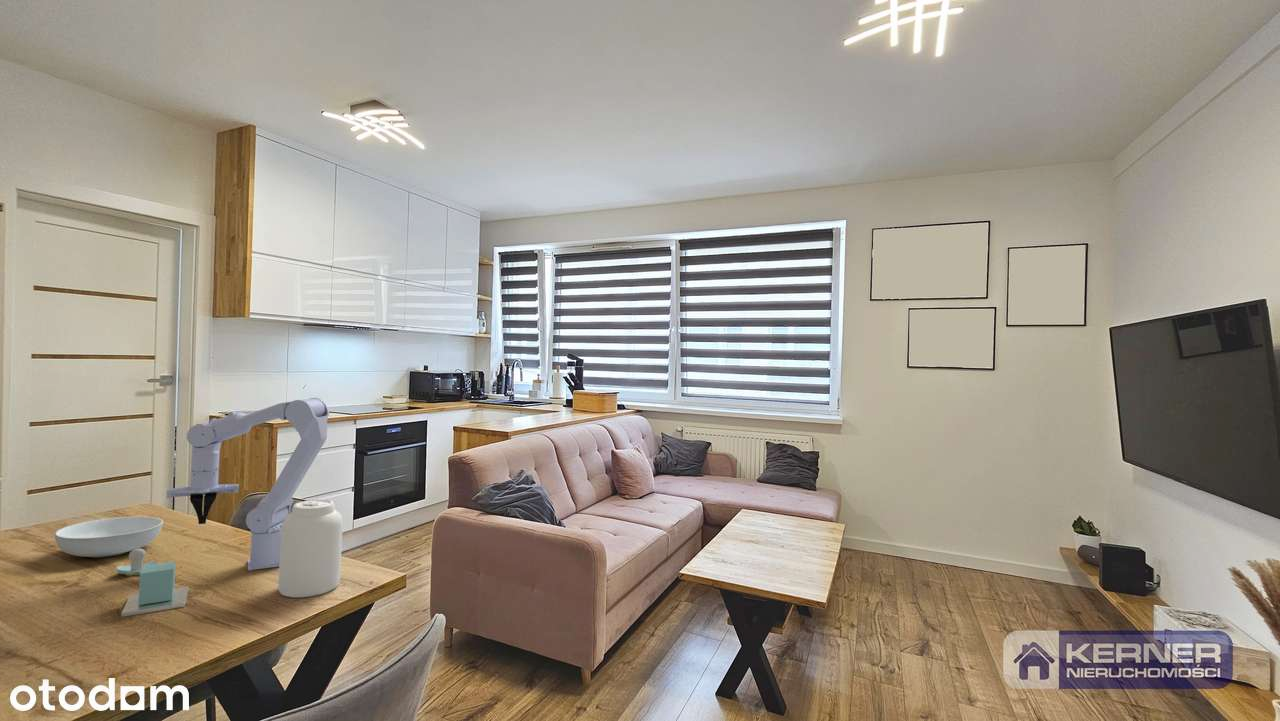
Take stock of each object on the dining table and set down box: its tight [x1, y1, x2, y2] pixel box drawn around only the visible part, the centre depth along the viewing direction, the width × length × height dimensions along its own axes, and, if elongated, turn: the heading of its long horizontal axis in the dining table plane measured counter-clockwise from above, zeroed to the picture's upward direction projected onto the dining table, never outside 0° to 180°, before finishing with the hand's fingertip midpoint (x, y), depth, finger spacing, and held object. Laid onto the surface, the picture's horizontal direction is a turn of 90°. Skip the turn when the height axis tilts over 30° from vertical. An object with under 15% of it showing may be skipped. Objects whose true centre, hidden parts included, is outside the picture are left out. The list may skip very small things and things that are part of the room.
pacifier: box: [115, 548, 158, 576], centre depth 137 cm, size 7×6×6 cm
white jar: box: [277, 499, 344, 598], centre depth 132 cm, size 12×12×20 cm
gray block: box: [120, 586, 190, 618], centre depth 121 cm, size 10×10×7 cm
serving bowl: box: [54, 516, 164, 558], centre depth 150 cm, size 21×21×7 cm
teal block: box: [138, 560, 177, 605], centre depth 121 cm, size 5×5×7 cm
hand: (202, 523), depth 145 cm, fingers closed
